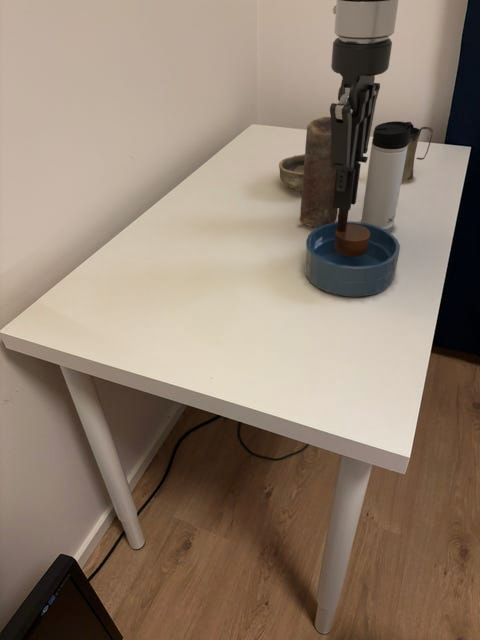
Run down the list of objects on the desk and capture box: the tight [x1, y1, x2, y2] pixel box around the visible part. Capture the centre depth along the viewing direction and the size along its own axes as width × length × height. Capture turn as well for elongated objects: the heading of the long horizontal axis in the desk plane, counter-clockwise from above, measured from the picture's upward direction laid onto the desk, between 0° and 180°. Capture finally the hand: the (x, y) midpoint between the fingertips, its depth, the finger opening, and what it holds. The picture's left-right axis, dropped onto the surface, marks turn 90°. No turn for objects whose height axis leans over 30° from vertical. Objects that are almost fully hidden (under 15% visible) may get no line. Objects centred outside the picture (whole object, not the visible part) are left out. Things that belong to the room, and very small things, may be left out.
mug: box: [401, 126, 434, 184], centre depth 110 cm, size 8×6×12 cm
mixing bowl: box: [304, 220, 401, 298], centre depth 83 cm, size 15×15×6 cm
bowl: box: [278, 153, 305, 192], centre depth 110 cm, size 14×18×10 cm
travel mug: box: [360, 120, 414, 233], centre depth 90 cm, size 6×7×20 cm
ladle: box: [334, 151, 370, 257], centre depth 76 cm, size 6×6×18 cm
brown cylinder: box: [299, 116, 339, 229], centre depth 92 cm, size 8×7×20 cm
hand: (344, 204), depth 78 cm, fingers closed on ladle, 2 cm apart
